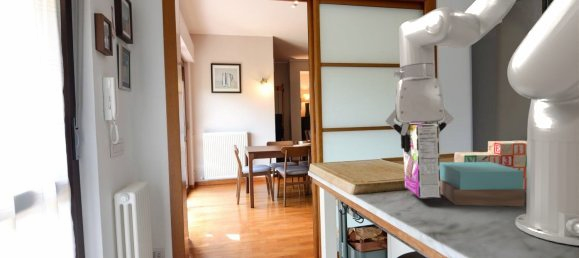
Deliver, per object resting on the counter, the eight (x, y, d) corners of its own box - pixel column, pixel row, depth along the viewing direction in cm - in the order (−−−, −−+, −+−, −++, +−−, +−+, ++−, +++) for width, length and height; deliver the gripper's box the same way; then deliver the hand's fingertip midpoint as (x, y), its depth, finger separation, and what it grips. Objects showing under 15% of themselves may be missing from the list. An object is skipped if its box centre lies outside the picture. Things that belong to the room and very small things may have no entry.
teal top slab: (522, 189, 68) (523, 171, 68) (460, 189, 69) (460, 171, 69) (490, 177, 81) (490, 161, 80) (438, 177, 82) (438, 162, 82)
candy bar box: (403, 187, 80) (401, 123, 79) (423, 187, 79) (421, 123, 79) (418, 199, 68) (416, 124, 68) (441, 198, 68) (439, 123, 68)
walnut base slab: (524, 208, 67) (524, 190, 67) (454, 207, 70) (454, 189, 69) (493, 192, 81) (493, 177, 81) (436, 191, 83) (436, 176, 83)
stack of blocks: (463, 190, 82) (463, 143, 82) (453, 184, 89) (453, 141, 88) (551, 190, 80) (551, 142, 79) (534, 184, 86) (535, 140, 86)
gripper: (381, 74, 71) (383, 154, 71) (462, 69, 68) (464, 152, 68) (377, 78, 78) (380, 150, 79) (451, 74, 75) (453, 149, 76)
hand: (419, 150), depth 74 cm, fingers closed on candy bar box, 5 cm apart
